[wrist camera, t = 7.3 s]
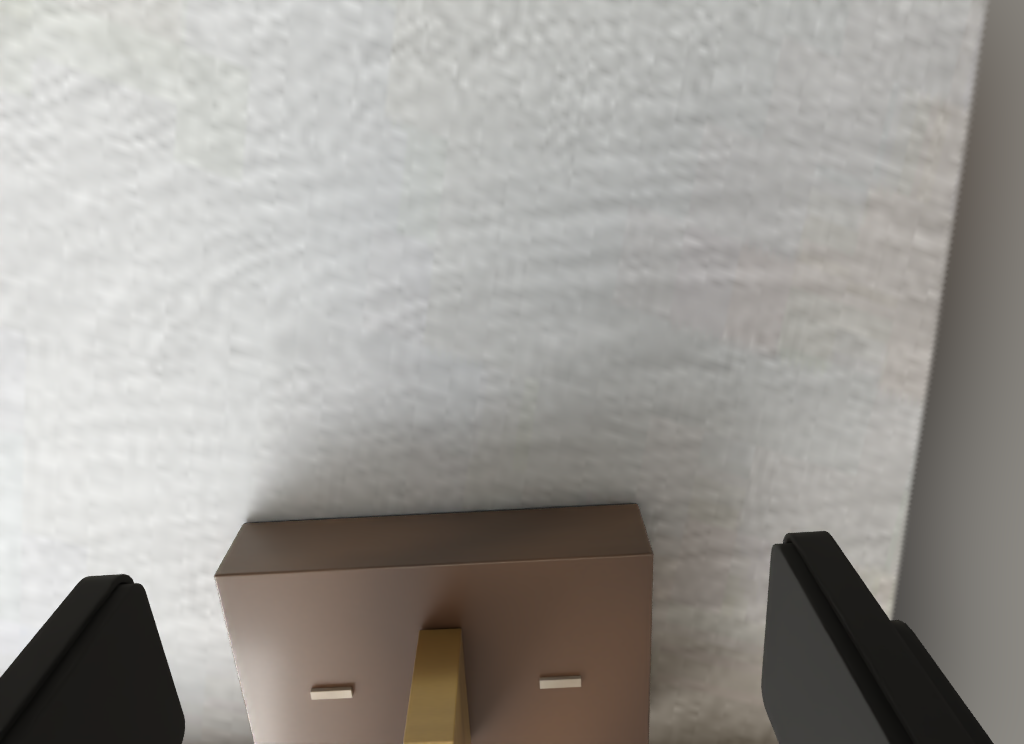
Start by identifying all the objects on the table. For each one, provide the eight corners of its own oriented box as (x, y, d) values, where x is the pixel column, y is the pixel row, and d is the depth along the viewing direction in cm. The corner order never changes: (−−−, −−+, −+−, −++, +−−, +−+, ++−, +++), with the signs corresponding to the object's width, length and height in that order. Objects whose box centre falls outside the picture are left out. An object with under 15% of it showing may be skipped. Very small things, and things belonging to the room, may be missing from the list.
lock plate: (637, 502, 27) (655, 556, 24) (634, 716, 30) (649, 785, 27) (242, 522, 27) (211, 578, 24) (288, 733, 30) (265, 803, 28)
